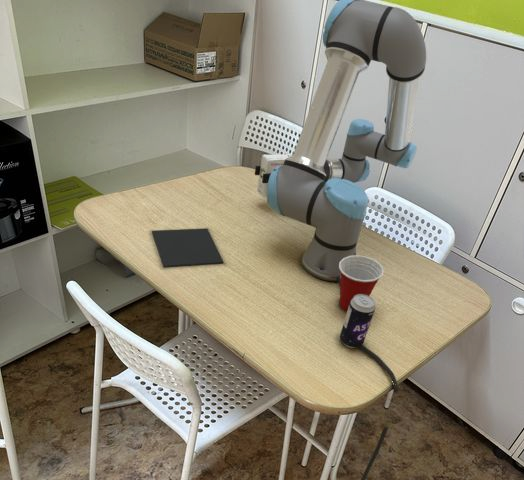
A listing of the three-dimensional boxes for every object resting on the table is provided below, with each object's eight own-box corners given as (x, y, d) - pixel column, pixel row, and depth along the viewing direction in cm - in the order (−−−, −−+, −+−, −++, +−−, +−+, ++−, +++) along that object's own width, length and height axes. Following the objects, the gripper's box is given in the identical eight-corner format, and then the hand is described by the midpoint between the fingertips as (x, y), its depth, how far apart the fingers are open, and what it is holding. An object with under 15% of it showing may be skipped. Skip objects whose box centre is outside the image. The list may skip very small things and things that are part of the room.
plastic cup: (321, 297, 133) (331, 256, 126) (355, 291, 138) (367, 251, 130) (342, 322, 127) (355, 282, 119) (378, 315, 131) (393, 275, 123)
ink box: (280, 189, 168) (286, 153, 161) (287, 196, 165) (293, 159, 158) (256, 190, 165) (261, 153, 157) (263, 197, 162) (268, 160, 154)
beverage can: (346, 352, 118) (360, 310, 111) (334, 336, 122) (346, 294, 114) (367, 347, 121) (381, 306, 113) (354, 332, 124) (368, 291, 116)
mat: (223, 263, 139) (223, 261, 139) (163, 267, 134) (163, 265, 134) (207, 229, 151) (207, 228, 151) (151, 232, 146) (151, 230, 146)
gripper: (336, 195, 164) (269, 199, 155) (309, 171, 176) (246, 173, 167) (341, 172, 159) (273, 175, 150) (314, 149, 171) (249, 150, 162)
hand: (259, 174), depth 159 cm, fingers closed on ink box, 5 cm apart
